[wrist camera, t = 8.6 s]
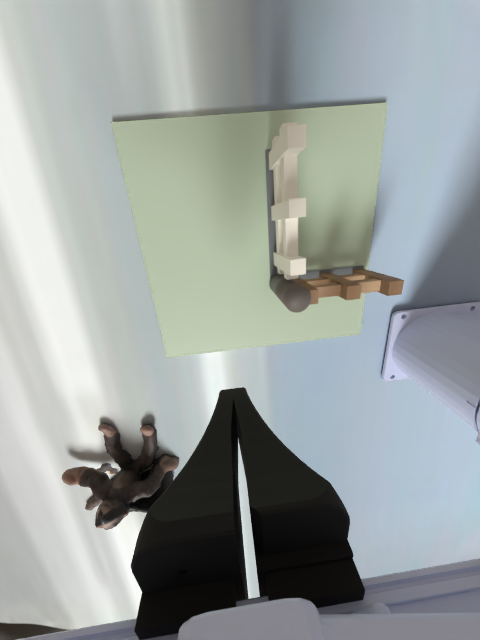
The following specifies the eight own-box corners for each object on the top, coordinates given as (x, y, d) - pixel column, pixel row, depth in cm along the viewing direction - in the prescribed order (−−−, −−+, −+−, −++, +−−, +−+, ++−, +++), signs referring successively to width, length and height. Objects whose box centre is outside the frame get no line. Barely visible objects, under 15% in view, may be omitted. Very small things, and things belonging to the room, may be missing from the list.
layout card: (384, 104, 17) (388, 101, 16) (358, 332, 23) (361, 334, 23) (112, 124, 16) (110, 121, 15) (167, 356, 22) (166, 358, 22)
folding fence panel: (285, 269, 20) (305, 281, 15) (274, 270, 19) (290, 283, 15) (282, 143, 16) (306, 111, 12) (268, 144, 16) (287, 113, 12)
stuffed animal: (185, 430, 25) (161, 567, 22) (186, 414, 34) (169, 508, 31) (64, 418, 23) (19, 568, 20) (100, 405, 32) (73, 505, 29)
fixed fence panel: (362, 263, 21) (408, 274, 16) (360, 283, 21) (403, 300, 16) (268, 273, 20) (284, 288, 15) (268, 293, 21) (285, 314, 16)
